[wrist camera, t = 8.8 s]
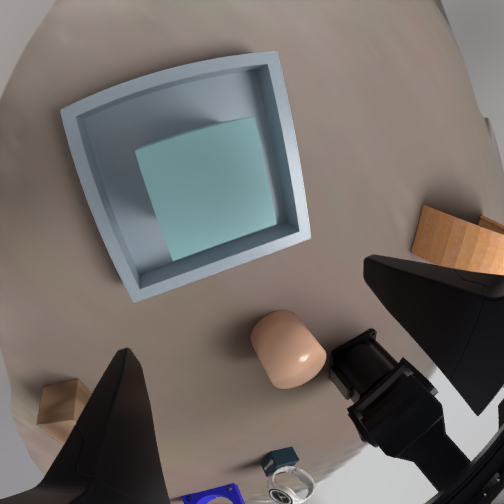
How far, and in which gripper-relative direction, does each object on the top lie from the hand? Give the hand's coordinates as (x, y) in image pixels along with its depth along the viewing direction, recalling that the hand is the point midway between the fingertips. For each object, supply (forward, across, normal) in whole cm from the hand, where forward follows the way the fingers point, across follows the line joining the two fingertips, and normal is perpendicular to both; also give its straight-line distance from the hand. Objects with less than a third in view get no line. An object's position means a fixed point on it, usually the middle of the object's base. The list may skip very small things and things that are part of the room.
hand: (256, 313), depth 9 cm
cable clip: (+12, +18, +55) cm, 59 cm away
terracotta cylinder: (+11, -3, +12) cm, 17 cm away
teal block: (+10, 0, -4) cm, 11 cm away
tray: (+11, 0, -4) cm, 11 cm away
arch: (+12, -31, +11) cm, 35 cm away
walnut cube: (+11, +19, +13) cm, 25 cm away
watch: (+12, +1, +44) cm, 46 cm away
